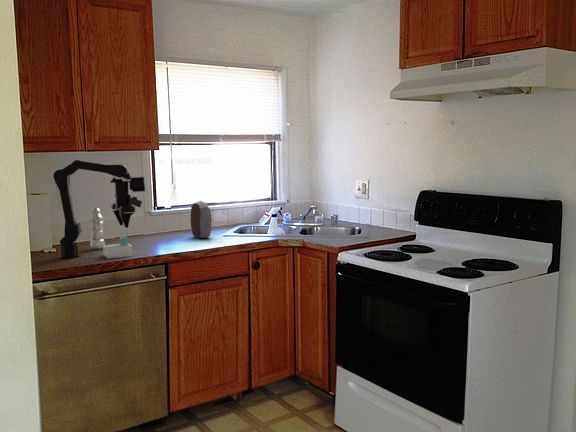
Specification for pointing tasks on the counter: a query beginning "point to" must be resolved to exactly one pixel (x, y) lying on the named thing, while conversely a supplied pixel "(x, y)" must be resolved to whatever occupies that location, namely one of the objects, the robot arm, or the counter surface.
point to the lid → (122, 243)
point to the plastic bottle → (96, 229)
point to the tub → (118, 251)
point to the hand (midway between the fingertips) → (124, 226)
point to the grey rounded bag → (200, 220)
